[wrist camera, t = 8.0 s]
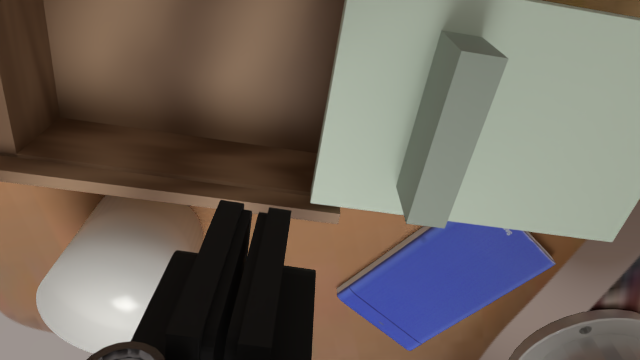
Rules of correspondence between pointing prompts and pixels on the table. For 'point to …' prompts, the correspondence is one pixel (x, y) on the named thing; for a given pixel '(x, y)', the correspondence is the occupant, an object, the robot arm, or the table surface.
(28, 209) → the table surface
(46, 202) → the table surface
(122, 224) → the white round canister
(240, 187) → the walnut box
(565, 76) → the lid
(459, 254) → the blue book
